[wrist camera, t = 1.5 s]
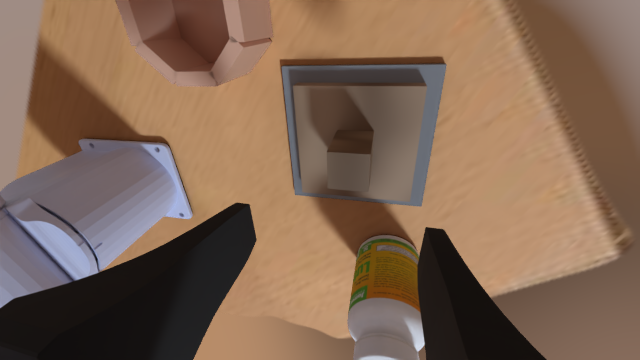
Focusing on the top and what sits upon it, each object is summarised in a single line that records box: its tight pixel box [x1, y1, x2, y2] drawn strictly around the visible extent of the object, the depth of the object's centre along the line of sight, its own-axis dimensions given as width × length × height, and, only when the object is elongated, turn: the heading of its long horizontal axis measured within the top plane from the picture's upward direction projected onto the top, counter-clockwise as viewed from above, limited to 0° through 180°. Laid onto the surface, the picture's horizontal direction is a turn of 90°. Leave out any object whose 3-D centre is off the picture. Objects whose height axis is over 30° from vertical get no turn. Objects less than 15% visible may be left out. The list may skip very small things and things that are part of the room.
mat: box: [282, 64, 446, 206], centre depth 19 cm, size 10×10×1 cm
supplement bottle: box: [348, 235, 425, 360], centre depth 21 cm, size 5×5×10 cm
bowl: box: [116, 0, 273, 86], centre depth 16 cm, size 7×7×4 cm
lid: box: [293, 83, 427, 202], centre depth 17 cm, size 8×8×4 cm
